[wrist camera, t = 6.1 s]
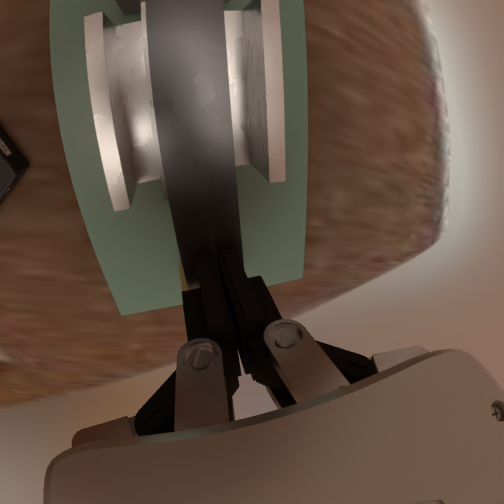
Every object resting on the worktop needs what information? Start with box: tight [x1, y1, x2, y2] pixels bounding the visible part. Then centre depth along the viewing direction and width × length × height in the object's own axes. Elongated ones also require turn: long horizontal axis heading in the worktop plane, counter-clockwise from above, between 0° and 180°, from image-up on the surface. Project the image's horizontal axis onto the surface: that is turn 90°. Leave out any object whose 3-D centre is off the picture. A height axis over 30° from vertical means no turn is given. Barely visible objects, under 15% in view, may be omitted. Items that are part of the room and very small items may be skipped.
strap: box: [145, 0, 244, 290], centre depth 9 cm, size 17×3×2 cm, turn 3°
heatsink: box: [84, 0, 285, 212], centre depth 11 cm, size 8×8×5 cm
